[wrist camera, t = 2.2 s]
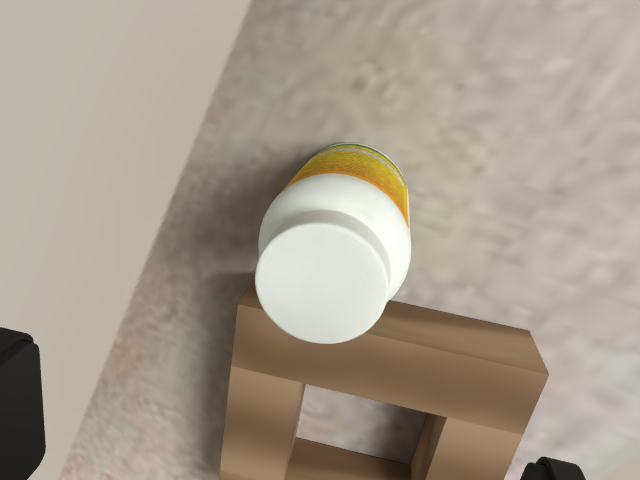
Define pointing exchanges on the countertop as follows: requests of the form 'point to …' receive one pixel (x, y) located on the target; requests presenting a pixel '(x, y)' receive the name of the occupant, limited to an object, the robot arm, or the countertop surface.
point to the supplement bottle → (335, 245)
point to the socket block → (381, 394)
